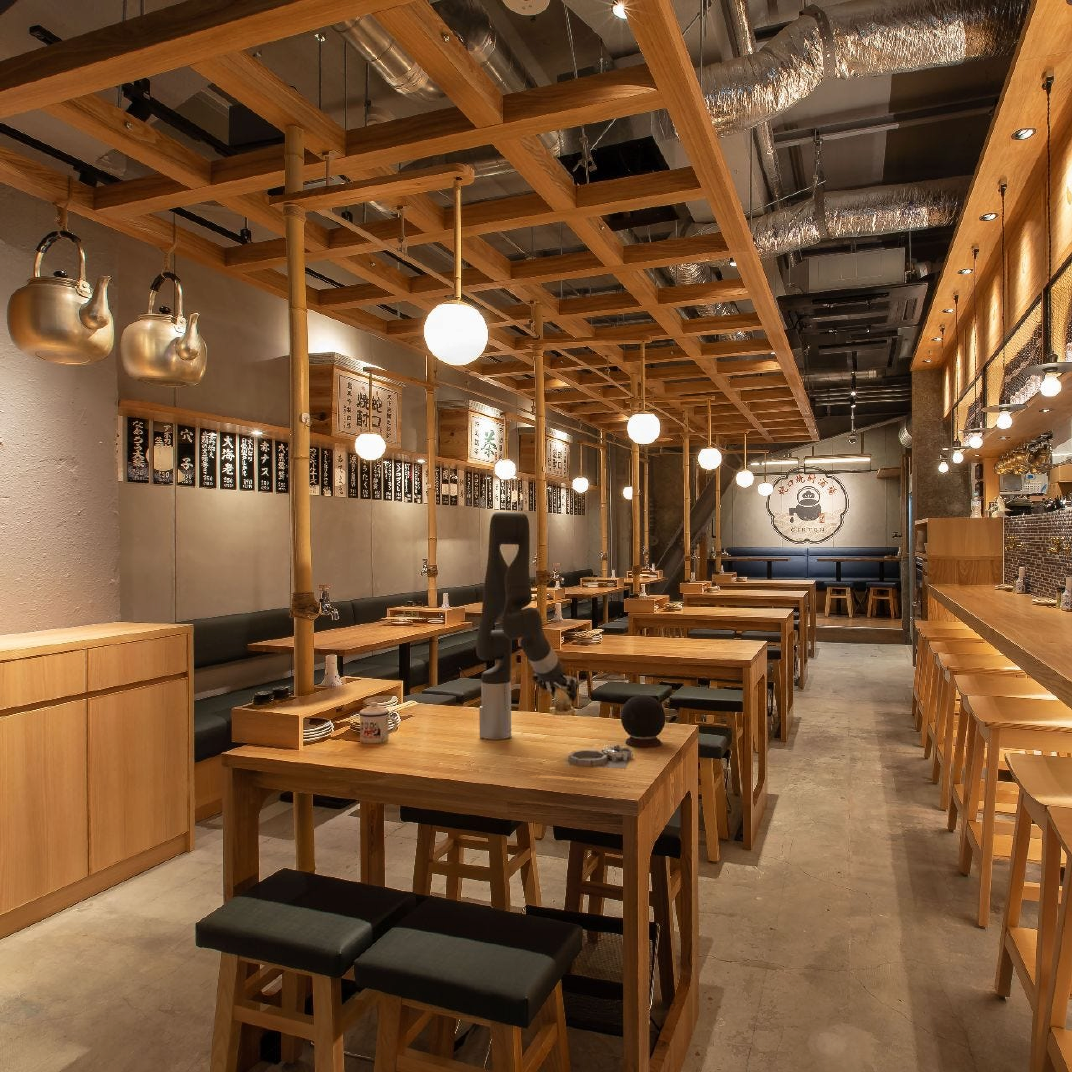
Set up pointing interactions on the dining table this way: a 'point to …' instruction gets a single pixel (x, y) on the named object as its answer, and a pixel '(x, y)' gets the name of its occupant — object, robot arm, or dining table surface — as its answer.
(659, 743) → the black ball on stand
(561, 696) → the gear hub
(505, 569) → the robot arm
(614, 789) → the dining table surface
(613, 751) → the gear
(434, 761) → the dining table surface
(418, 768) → the dining table surface
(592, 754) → the gear board
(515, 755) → the dining table surface
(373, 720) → the teacup with lid
